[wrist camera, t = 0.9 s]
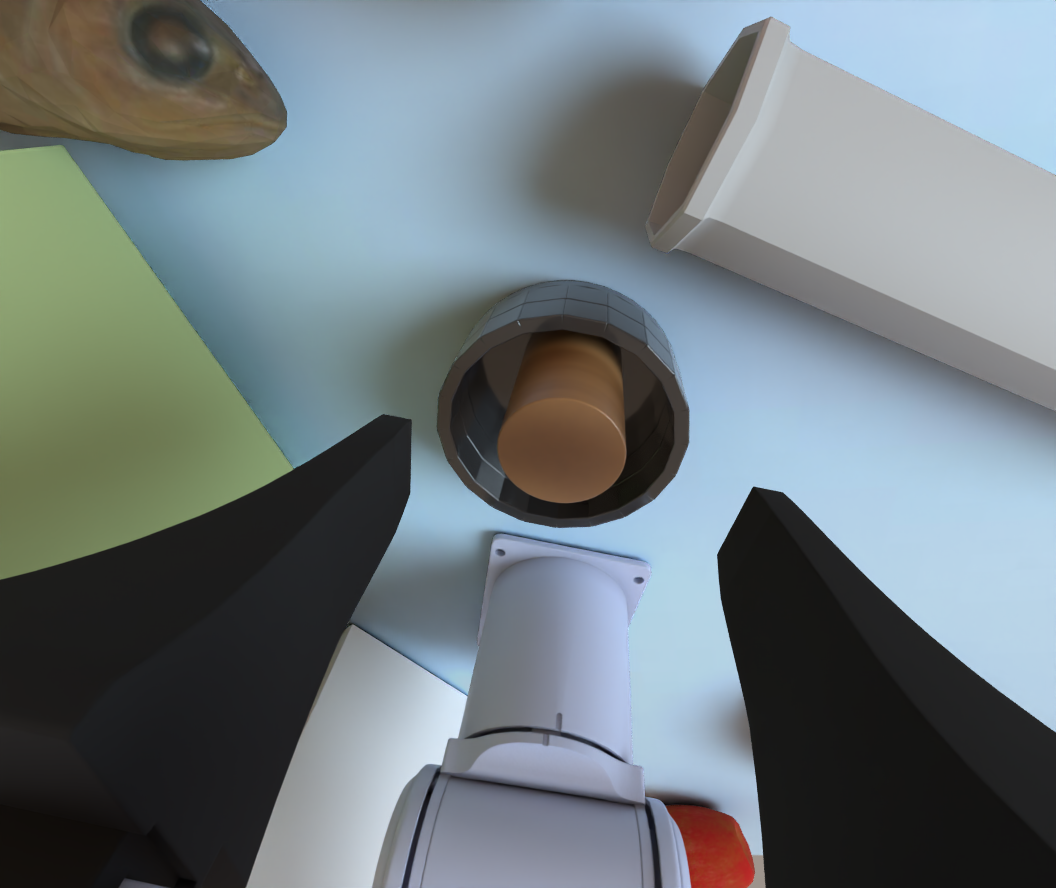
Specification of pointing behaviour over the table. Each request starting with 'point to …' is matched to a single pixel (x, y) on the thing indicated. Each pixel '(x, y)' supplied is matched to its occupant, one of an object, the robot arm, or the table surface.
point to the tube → (867, 212)
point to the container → (102, 382)
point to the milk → (354, 766)
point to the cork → (565, 418)
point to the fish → (134, 78)
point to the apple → (713, 847)
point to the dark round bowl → (490, 374)
